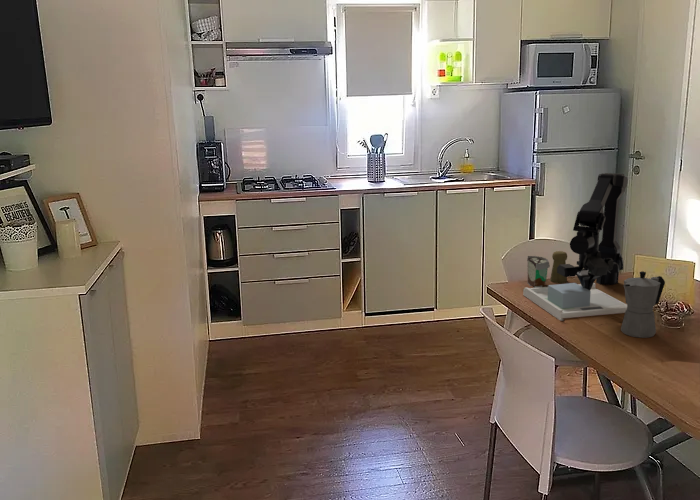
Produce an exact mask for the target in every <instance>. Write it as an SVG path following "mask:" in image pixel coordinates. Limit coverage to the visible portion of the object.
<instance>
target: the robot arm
mask: <svg viewBox="0 0 700 500" xmlns="http://www.w3.org/2000/svg"><path fill="white" fill-rule="evenodd" d="M628 180H629V179H628V177H627V176H626V175H625V173H613V172H612V173H611V172H604V173H599V174H598V177H597V182H596V184H595V187H594V189H593V191H592V193H591V196H590V198H589V200H588V201H587V202H586V203H584V204H582V206H581V208H580V209H579V210H578V212H577V214H576V218H575V221H574V225H573V229H572V231H575V232H576V235H575V236H574V237H572V238H571V239H570V240H569V241H570V242H569V249H571V251H572V252H573V253H575V254H577V255H578V260H577V261H576V265H577V266H576V265H575V266H574V265H572V264H571V263H566V264H561V265H559V266H558V267H557V273H559V274H560V275H562V276H564V277H567V278H570V277H571V278H572V277H577V278H578V280H579V282H580V283H579V284H581V285H582V287H584V288H586V289H588V290H591V287H592V285H593V283H595V281H596V283H595V284H598V285H605V286H613V285H617V284H619V273H620V271H623V270H624V260H623V256H622V253H621V246H620V245H619V242H618V241H617V235H618V233H617V232H618V220H619V207H620V199H621V197H622V196H623V194H624V193H626V188H627V187H628ZM601 231H602V235H601V237H602V238H601V241H600V232H601ZM599 242H600V243H599Z"/></svg>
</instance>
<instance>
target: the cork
mask: <svg viewBox="0 0 700 500" xmlns="http://www.w3.org/2000/svg"><path fill="white" fill-rule="evenodd" d="M551 256H552V257H551V258H552V260H553V263H552V268H551V272H550V273H551V274H550V279H549V281H550V282H552V283H554V284H567V283H568V277H564V276H562V275H560V274H559V273H557V267H558V266H559V265H561V264H567V263H566V261H567V260H568V254H567V252H565V251H563V250H556V251H554V252H553V253H552V255H551Z"/></svg>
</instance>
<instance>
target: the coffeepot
mask: <svg viewBox="0 0 700 500" xmlns="http://www.w3.org/2000/svg"><path fill="white" fill-rule="evenodd" d="M646 274H647V272H646V271H643V270H642V271H639V276H637V277H627V278H626V279H624V280H623V288H624V299H625V304H627V309H626V311H625V313H624V316H623V320H622V323H621V326H620V331H621V332H622V333H623V334H624V335H626V336H630V337H633V338H642V339H646V338H652V337H654V336H655V334H656V333H657V329H656V328H657V327H656V319H655V318H656V317H655V312H654V307H655V305H657V304H659V303H660V299H661V297H662V293H663V290H664V287H665V284H666V281H665V279H664V277H662V276H660V275H658V276H652V277H650V278H648V277H646Z"/></svg>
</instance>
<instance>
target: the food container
mask: <svg viewBox="0 0 700 500" xmlns="http://www.w3.org/2000/svg"><path fill="white" fill-rule="evenodd" d="M526 259H527V260H526V261H527V284H528V285H529V287H532V288H538V287H547V286H546V284H547V277H548V268H550V261H549V259H547V258H546V257H543V256H536V255H527V258H526Z"/></svg>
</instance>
